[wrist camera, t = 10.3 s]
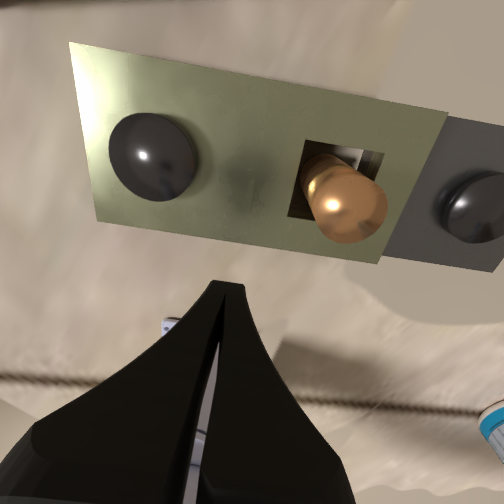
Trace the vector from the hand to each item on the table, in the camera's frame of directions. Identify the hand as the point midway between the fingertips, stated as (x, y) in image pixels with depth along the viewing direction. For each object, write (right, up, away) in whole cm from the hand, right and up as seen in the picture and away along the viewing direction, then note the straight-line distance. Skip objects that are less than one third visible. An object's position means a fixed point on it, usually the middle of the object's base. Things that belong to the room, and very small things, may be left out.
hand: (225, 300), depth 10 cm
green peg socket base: (+6, +7, +7) cm, 11 cm away
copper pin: (+6, +7, +7) cm, 11 cm away
